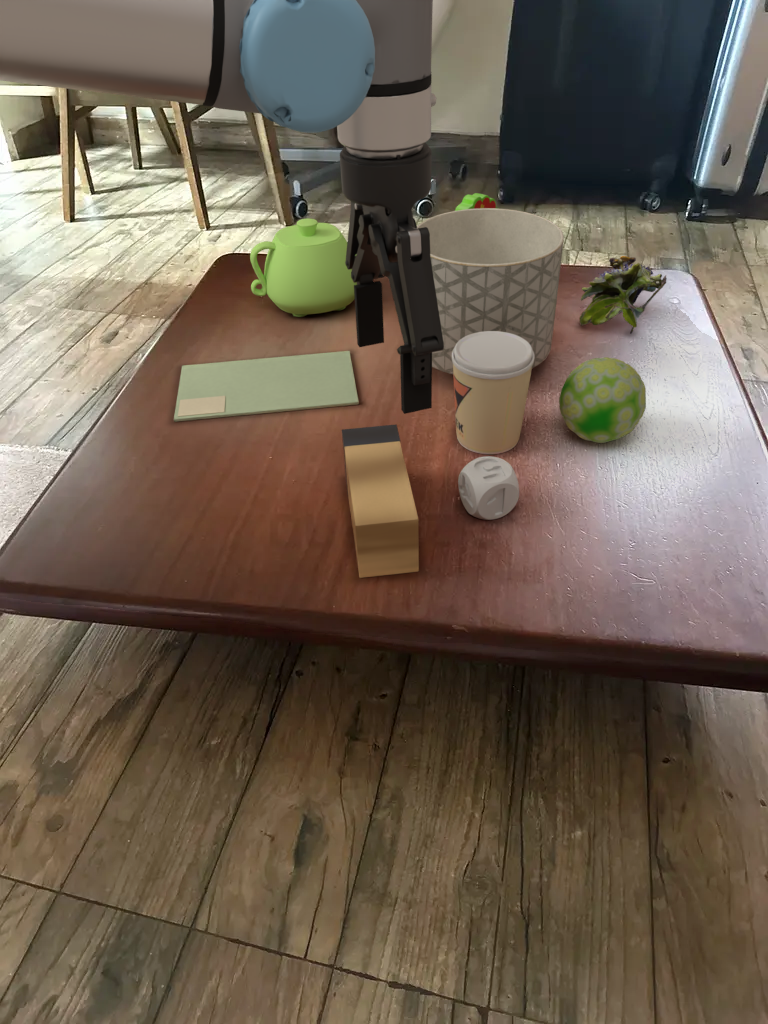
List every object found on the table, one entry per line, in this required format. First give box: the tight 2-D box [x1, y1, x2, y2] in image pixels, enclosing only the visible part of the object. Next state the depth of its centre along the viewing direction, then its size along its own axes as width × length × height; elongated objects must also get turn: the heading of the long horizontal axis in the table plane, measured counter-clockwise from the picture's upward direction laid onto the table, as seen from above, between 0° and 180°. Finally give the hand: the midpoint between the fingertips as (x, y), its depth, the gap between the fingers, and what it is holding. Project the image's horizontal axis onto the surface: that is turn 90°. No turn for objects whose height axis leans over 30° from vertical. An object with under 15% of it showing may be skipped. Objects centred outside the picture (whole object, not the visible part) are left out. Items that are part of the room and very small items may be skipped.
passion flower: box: [579, 255, 668, 335], centre depth 115 cm, size 11×11×12 cm
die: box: [457, 455, 520, 521], centre depth 84 cm, size 5×5×5 cm
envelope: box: [173, 350, 360, 423], centre depth 107 cm, size 24×14×1 cm, turn 97°
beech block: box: [341, 423, 420, 579], centre depth 82 cm, size 16×6×7 cm, turn 7°
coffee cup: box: [452, 331, 534, 455], centre depth 92 cm, size 9×9×12 cm
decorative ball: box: [558, 356, 647, 444], centre depth 92 cm, size 10×10×10 cm
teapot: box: [249, 218, 357, 318], centre depth 122 cm, size 22×15×13 cm
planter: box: [417, 207, 565, 375], centre depth 104 cm, size 19×19×18 cm
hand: (392, 374), depth 77 cm, fingers open, 13 cm apart
